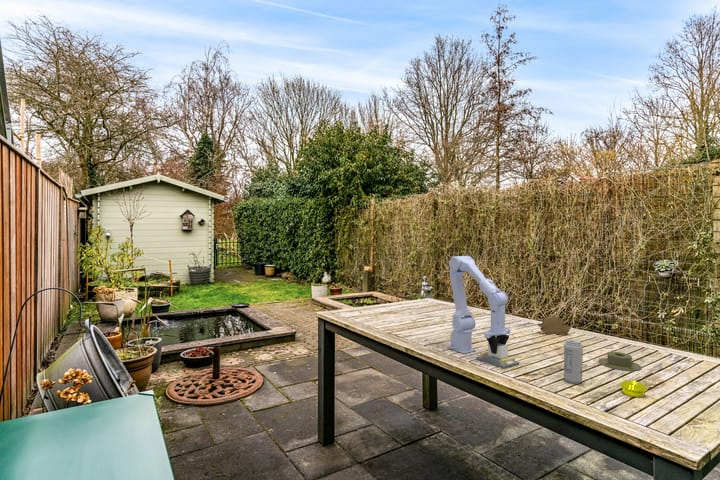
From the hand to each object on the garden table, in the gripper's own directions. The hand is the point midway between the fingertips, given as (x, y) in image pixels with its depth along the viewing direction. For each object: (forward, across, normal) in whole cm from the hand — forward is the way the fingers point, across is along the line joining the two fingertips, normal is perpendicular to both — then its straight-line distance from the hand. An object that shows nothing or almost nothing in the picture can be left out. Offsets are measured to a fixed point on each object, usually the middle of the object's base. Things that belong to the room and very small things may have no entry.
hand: (497, 352), depth 166 cm
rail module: (+2, 0, 0) cm, 2 cm away
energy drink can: (+4, +6, -29) cm, 30 cm away
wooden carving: (+4, +64, +14) cm, 66 cm away
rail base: (+4, 0, 0) cm, 4 cm away
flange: (+5, +41, -29) cm, 50 cm away
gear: (+4, +13, -46) cm, 48 cm away
